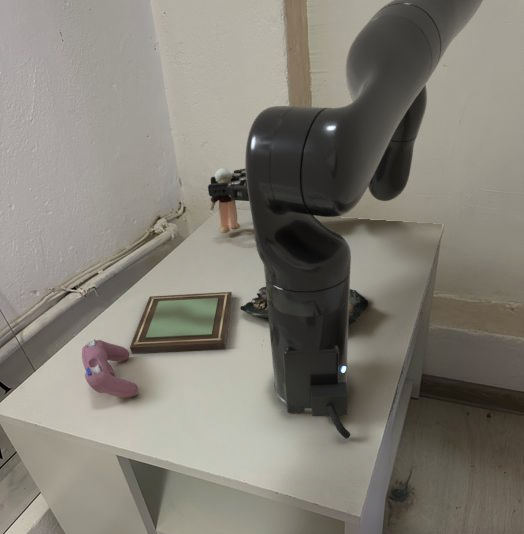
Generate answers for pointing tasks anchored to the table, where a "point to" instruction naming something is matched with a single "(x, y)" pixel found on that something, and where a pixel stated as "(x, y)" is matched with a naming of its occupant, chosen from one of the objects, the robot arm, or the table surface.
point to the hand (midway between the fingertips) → (210, 186)
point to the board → (183, 323)
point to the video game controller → (106, 369)
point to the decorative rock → (261, 309)
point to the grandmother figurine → (225, 204)
